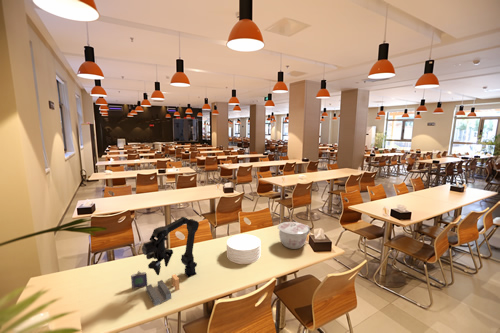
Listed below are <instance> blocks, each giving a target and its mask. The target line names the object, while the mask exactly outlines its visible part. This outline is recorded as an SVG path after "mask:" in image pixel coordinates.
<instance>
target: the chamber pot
mask: <svg viewBox="0 0 500 333" xmlns="http://www.w3.org/2000/svg"><path fill="white" fill-rule="evenodd" d="M277 229H278V230H279V231H278V236H279V240H280V242H281V244H282V245H283V246H284V247H286V248H287V249H291V250H297V249H300V248H302V247H303V246H304V245H305V244H306V241H307V238H308V235H309V234H310V231H311V228H310V226H309V225H308V224H303V223H301V222H297V221H284V222H281V223H279V224H278V225H277Z"/></svg>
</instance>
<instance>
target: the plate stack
mask: <svg viewBox="0 0 500 333" xmlns="http://www.w3.org/2000/svg"><path fill="white" fill-rule="evenodd" d="M261 253H262V241H261V239H260V238H259V237H257V236H255V235H252V234H245V233H244V234H243V233H241V234H236V235H235V234H234V235H233V236H230V237H229V238H228V239H227V240H226V257H227V259H228V260H229V261H230V262H232V263H235V264H240V265H246V264H248V265H249V264H252V263H255V262H257V261H258V260H259V259H260V258H261V255H262V254H261Z"/></svg>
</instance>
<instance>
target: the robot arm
mask: <svg viewBox="0 0 500 333" xmlns="http://www.w3.org/2000/svg"><path fill="white" fill-rule="evenodd" d="M184 225H186V231H187V238H186V244H185V251H184V253H183V254H181V258H180V262H181V264H183V265H184V275H185V276H186V277H187V278H190V277H192V276H195V275H197V272H196V268H197V265H198V263H197V262H195V257H194V254H193V251H194V243H195V236H196V232H197V231H198V230H199V226H200V223H199V221H197V220H195V219H193V218H190V219H189V218H188V217H185V216H181V217H180V218H178V219H177V220H174V221H172V222H170V223H168V224H167V225H164V226H162V225H161V226H158V227H156V228H154V229H153V232H152V233H151V236H150V238H149V241H147V242H144V243H142V246H141V251H142V254H143V255H144V256H146V257H145V258H146V259H147V260H151V259H154V260H152V261H151V262H150V263H148V264H147V267H148V269H150V270H151V269H152V270H153V271H154V272H155V274H156V276H160V272H161V268H162V266H161V262H162V261H164V265H165V268H167V267H168V265H169V262H170V260H171V258H172V256H173V254H174V250H173V249H171V248H167V247H166V241H167V240H169V238H167V236H168V235H169V234H170V233H171V232H173V231H174V230H177V229H178V228H180V227H182V226H184Z"/></svg>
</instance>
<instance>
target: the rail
mask: <svg viewBox="0 0 500 333" xmlns="http://www.w3.org/2000/svg"><path fill="white" fill-rule="evenodd" d="M145 290H146V294H147V295H148V297H149V299H150V300H151V302H152V304H153V306H154V307H156V306H158V305H161V304H163V303H164V302H166V301H169V300H171V299H172V292H171V290H170V289H169V287H168V286H167V284H166V283H165V282H164V280H163V279H161V280H158V281H157V286H154V287H153V285H152V284H151V283H150V284H147V286H145Z"/></svg>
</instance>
